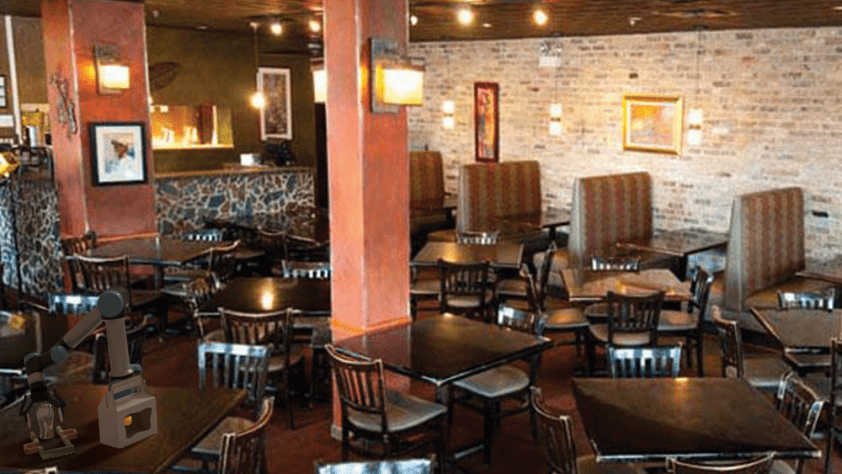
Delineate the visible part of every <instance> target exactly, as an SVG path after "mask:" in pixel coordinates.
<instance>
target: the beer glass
mask: <svg viewBox="0 0 842 474" xmlns="http://www.w3.org/2000/svg"><path fill="white" fill-rule="evenodd" d="M53 406H54V405H52V404H51V403H49V402H47V403H45V402H44V403H39V404H38V405H37V406H36V418H37V423H38V426H39V438H40V440H48V439H53V438H54V437H55V434H54V418H55V417H54V415H55V413H54V407H53Z"/></svg>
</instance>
